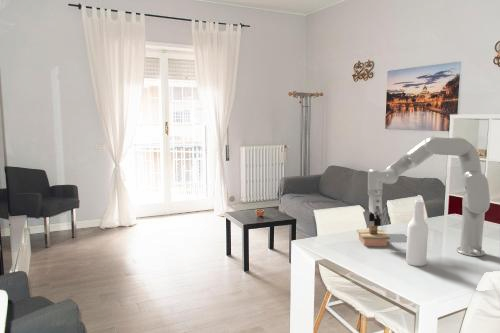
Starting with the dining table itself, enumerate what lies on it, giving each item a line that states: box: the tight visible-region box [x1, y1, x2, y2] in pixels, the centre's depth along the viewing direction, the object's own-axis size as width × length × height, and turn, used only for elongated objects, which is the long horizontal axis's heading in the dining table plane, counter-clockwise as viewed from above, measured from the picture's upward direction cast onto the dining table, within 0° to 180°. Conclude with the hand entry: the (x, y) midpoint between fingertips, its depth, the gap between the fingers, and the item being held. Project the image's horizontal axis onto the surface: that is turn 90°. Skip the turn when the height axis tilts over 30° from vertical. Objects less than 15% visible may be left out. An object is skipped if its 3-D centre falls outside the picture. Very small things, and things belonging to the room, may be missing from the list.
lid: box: [356, 223, 390, 239], centre depth 216 cm, size 14×14×6 cm
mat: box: [386, 233, 407, 243], centre depth 226 cm, size 16×16×1 cm
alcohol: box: [405, 199, 429, 267], centre depth 185 cm, size 9×9×30 cm
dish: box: [358, 234, 388, 247], centre depth 217 cm, size 12×12×4 cm
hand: (374, 223), depth 216 cm, fingers open, 9 cm apart
